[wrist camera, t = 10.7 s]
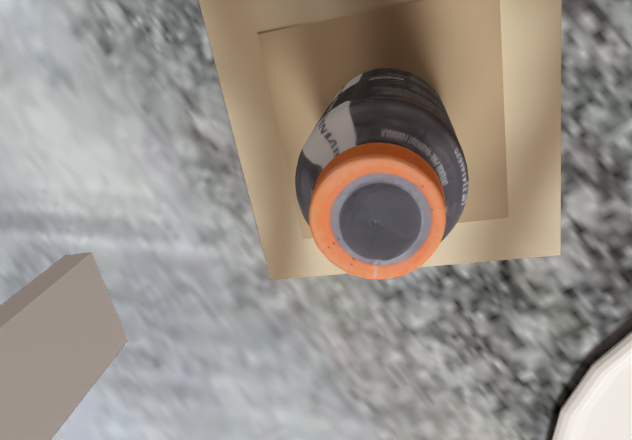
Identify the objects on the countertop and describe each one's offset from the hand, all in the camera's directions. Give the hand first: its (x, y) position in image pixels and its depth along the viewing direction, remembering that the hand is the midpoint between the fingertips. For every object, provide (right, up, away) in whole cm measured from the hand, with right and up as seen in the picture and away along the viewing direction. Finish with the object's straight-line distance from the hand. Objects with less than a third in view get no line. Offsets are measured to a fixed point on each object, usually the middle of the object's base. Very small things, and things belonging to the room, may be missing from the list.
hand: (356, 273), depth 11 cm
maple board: (+3, +6, +14) cm, 15 cm away
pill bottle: (+3, +6, +13) cm, 14 cm away
